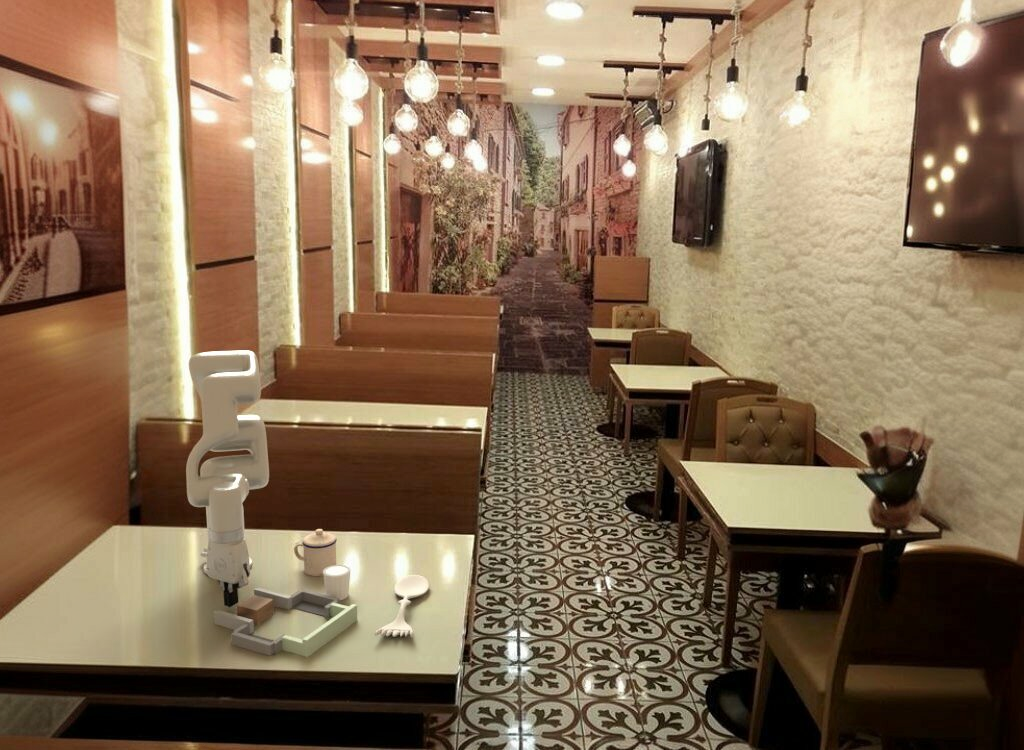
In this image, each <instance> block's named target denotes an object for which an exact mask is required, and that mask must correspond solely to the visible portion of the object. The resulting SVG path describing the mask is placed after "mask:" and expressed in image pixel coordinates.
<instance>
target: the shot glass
mask: <svg viewBox="0 0 1024 750" xmlns="http://www.w3.org/2000/svg"><path fill="white" fill-rule="evenodd" d="M322 577H323V583H324V589H325V595H328V596H332V597H336V598H339V599H340V601H343V600H346V599H347V598H348V597H349V595H350V593H349V592H350V580H351V579H350V578H351V568H350V567H349V566H347V565H343V564H336V565H333V566H329V567H327V568H325V569H324V570H323V576H322Z"/></svg>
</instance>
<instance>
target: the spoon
mask: <svg viewBox="0 0 1024 750" xmlns="http://www.w3.org/2000/svg"><path fill="white" fill-rule="evenodd" d="M429 588H430V582H429V580H428V579H427V578H426V577H425V576H422V575H418V574H409V575H405V576H403V577H401V578H400V579H398V580H397V582H396V583H395V584H394V587H393V592H394V593H395V594H396V595H397V596H398V597H401V598H403V599H401V600H398V601H397V604H399V605H400V607H399V609H398V612H397V616H396V618H395V619H394V620H393V621H392V622H390V623H388V624H386V625H384V626H382V627H380V628H379V629H377V630H376V631H374V632H375V633H374V635H375V636H376V637H377V636H378V635H381V637H383V636H385V635H386V637H389V636H391V635H392V637H393V638H395V637H396V638H397V636H399V637H400V638H402V637H403V636H405V637H407V636H408V635H409V637H410V638H412V637H413V634H414V630H413V627H412V626H411V625H410V624H408V623H407V622H406V621H405V610H406V607H407V606H408V605H410V604H411V603H412V601H411V600H410V599H413V598H417V597H420V596H423V595H424V594H425V593H427V592H428V590H429Z"/></svg>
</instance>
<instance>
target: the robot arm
mask: <svg viewBox="0 0 1024 750" xmlns="http://www.w3.org/2000/svg"><path fill="white" fill-rule="evenodd" d="M259 367H260V366H259V359H258V356H257V355H256V353H255V352H253V351H251V350H218V351H217V350H216V351H205V352H198V353H196V354H194V355H192V356H190V358H189V360H188V368H189V374H190V375H189V376H190V377H191V381H192V383H193V385H194V387H195V390H196V391H197V394H198V396H199V399H200V401H201V415H202V436H201V438H200V439H199V441H197V443H196V444H194V446H193V448H192V450H191V451H190V453H189V454H188V458H187V461H186V467H185V472H186V473H185V474H186V478H185V479H186V495H187V500H188V502H189V504H190V505H191V506H193V507H196V508H204V507H205V511H206V512H205V514H206V515H205V516H206V529H207V530H206V531H207V546H205V547H204V548H203V551H202V552H200V557H202V558H205V559H206V563H205V564H204V565H203V572H204V574H205V575H207V576H208V577H209V578H210V579H214V580H215V581H217V582H218V583H219V585H220V589H221V591H223V592H222V593H223V606H224V607H227V608H231V607H234V606H235V605H238V604H239V589H240V588H241V587H246V586H248V585H249V580H248V578H249V577H250V575H251V568H252V566H253V561H252V558H251V557H250V555H249V550H248V544H247V541H246V535H245V516H244V515H245V514H244V512H245V511H244V506H243V503H244V501H245V500H246V498H247V496H248V495H249V493H250V490H256V489H257V490H259V489H262V488H264V487H266V486H267V485H268V483H269V481H270V480H269V479H270V467H269V454H268V453H269V452H268V440H267V431H266V425H265V422H264V420H263V418H262V417H261V416H259V415H256V414H241V415H239V413H238V412H239V411H238V405H245V404H256V403H257V402H259V401H260V399H261V394H262V382H261V375H260V374H261V373H260V368H259ZM245 450H246V451H248V452H249V453H250V454H240V455H239V454H237V455H226V456H216V457H212V458H209V459H207V460H205V461H204V462H203V463H202V464H201V465H200V466H201V467H200V470H199V464H200V461H201V460H202V458H203V457H204V456H205V454H207V452H209V451H211V452H215V453H216V452H220V453H221V452H232V451H234V452H235V451H245ZM199 473H200V474H199Z"/></svg>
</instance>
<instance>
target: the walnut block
mask: <svg viewBox="0 0 1024 750" xmlns="http://www.w3.org/2000/svg"><path fill="white" fill-rule="evenodd" d="M235 605H236V606H235V607H236V615H238V616H241V617H245V618H248V619H252V620H253V624H254V625H255V626H258V625H260V624H261V623H263V622H264V621H266V620H268V619H269V618H270V617H272V616H273V615H274V614H275V608H274V607H275V606H274V603H273V599H269V598H265V597H261V596H256V595H254V594H252V595H251V596H249V597H248V598H246V599H245V600H243V601H241V602H240V603H237V604H235Z"/></svg>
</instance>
